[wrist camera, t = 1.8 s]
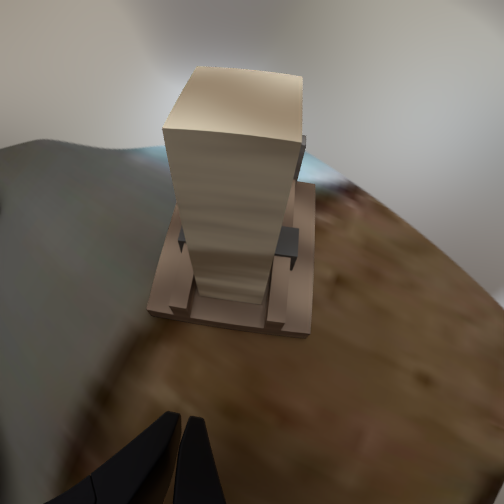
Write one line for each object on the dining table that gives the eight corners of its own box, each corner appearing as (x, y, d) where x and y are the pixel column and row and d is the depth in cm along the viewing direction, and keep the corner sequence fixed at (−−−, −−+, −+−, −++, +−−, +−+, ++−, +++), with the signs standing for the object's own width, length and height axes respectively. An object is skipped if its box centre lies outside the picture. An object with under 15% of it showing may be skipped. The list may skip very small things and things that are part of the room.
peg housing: (305, 338, 23) (335, 306, 16) (150, 315, 23) (120, 275, 16) (311, 194, 30) (330, 136, 23) (189, 178, 30) (182, 118, 23)
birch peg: (261, 304, 22) (301, 142, 9) (199, 295, 22) (162, 128, 9) (267, 250, 25) (302, 76, 11) (210, 242, 25) (196, 66, 11)
